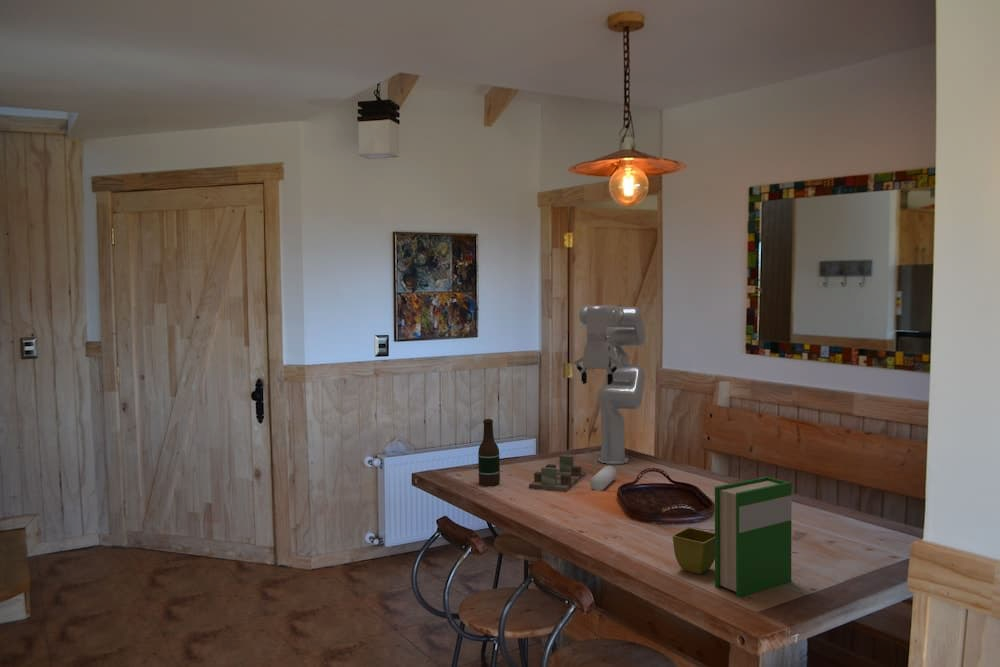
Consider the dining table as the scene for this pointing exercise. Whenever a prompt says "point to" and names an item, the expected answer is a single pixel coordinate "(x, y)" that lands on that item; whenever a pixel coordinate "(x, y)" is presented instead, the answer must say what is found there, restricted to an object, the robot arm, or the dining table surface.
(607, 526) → the dining table surface
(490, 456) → the beer bottle
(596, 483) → the roll
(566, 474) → the cradle
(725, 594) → the dining table surface
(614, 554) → the dining table surface
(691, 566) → the flower pot
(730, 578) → the hardback book
